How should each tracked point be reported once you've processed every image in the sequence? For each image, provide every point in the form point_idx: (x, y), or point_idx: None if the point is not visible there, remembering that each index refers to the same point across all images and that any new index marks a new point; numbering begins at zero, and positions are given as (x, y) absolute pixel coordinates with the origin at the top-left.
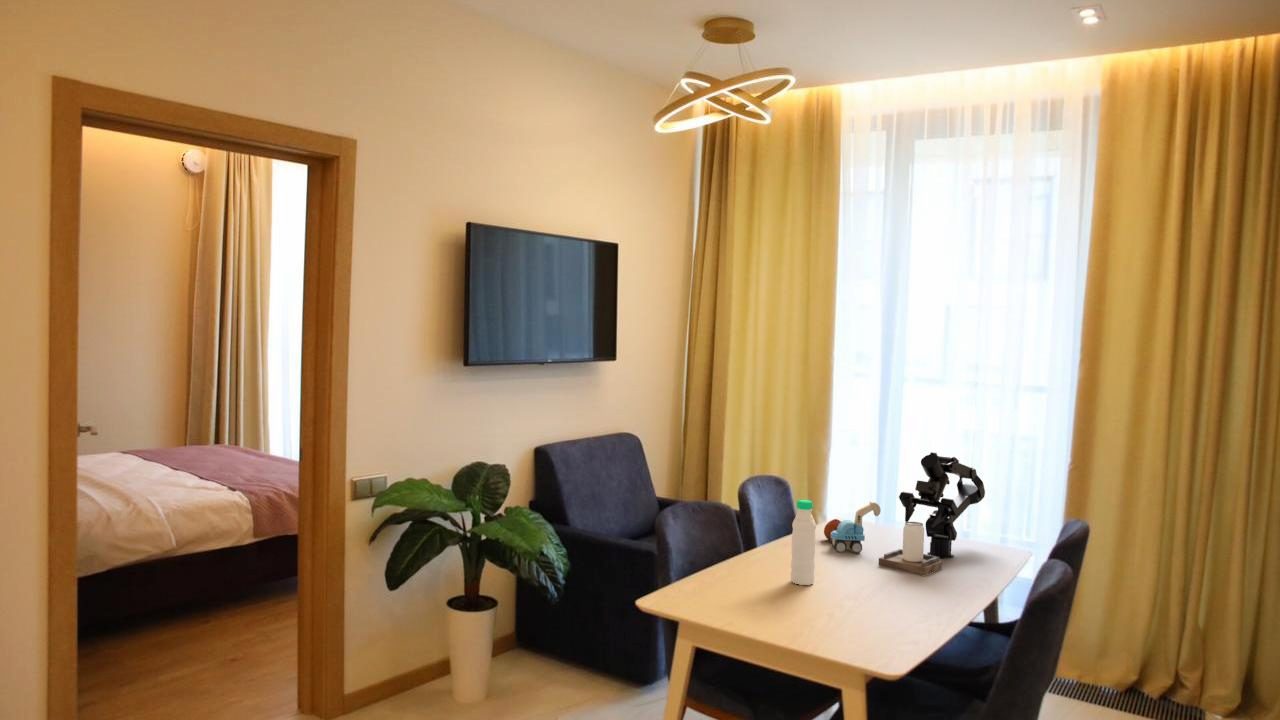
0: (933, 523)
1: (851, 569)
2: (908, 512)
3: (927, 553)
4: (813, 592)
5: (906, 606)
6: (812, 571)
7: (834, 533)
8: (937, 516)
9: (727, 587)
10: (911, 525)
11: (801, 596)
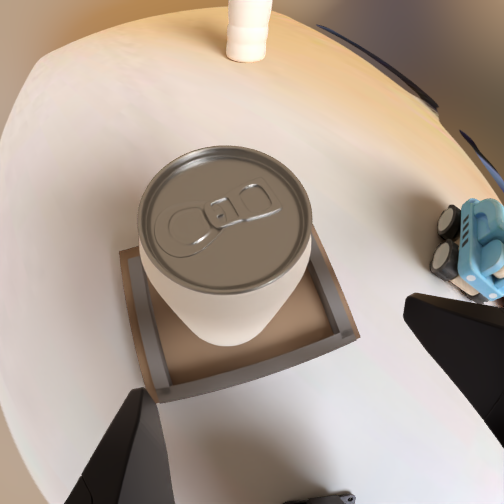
0: (124, 405)
1: (289, 140)
2: (477, 326)
3: (351, 494)
4: (198, 50)
5: (66, 104)
6: (228, 39)
7: (479, 201)
8: (85, 477)
9: (268, 26)
10: (193, 155)
11: (194, 41)
